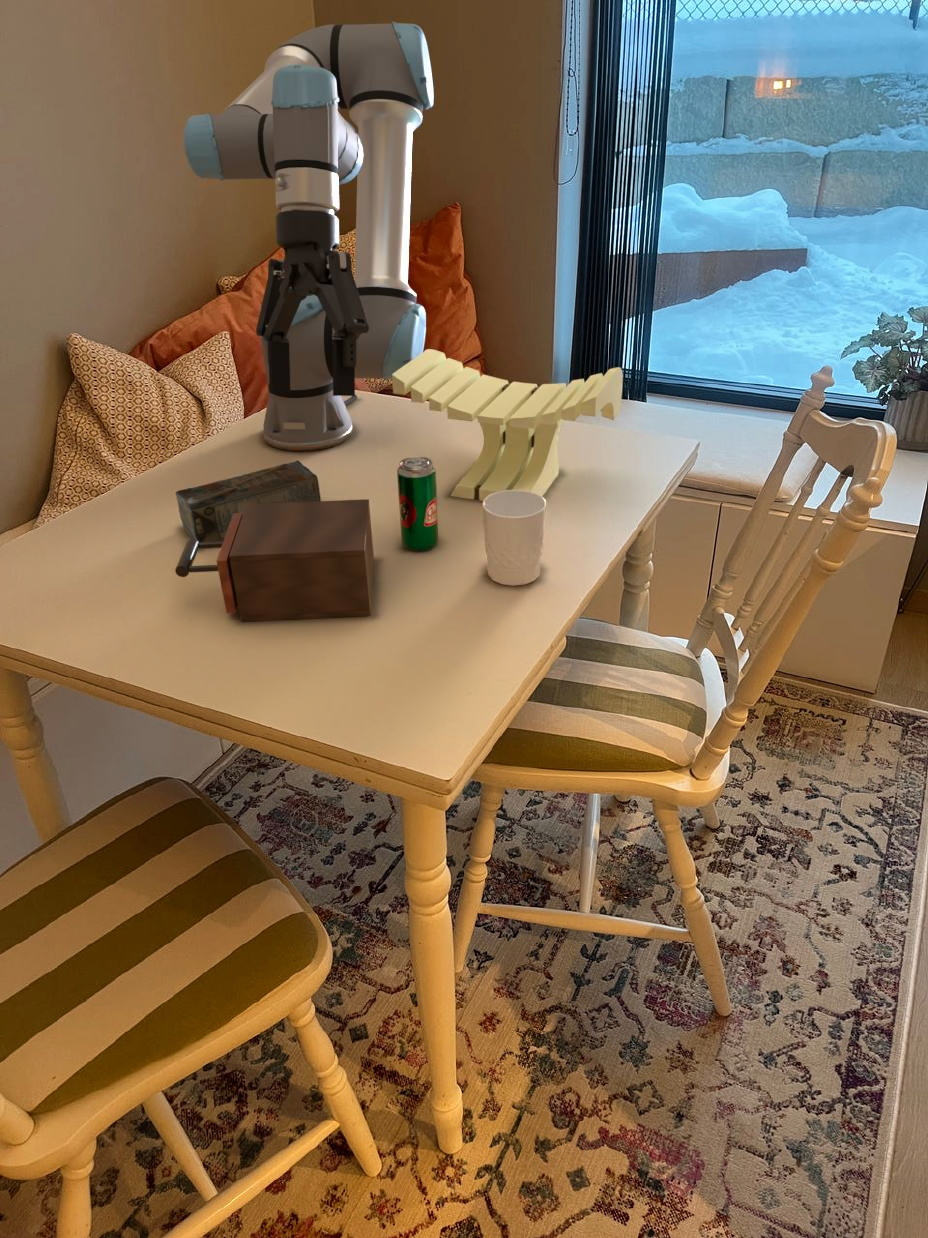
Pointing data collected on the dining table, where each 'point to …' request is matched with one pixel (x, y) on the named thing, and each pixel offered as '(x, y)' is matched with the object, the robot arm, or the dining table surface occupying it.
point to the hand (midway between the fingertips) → (310, 394)
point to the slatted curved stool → (507, 418)
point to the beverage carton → (242, 498)
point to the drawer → (222, 562)
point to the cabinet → (303, 560)
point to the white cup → (514, 535)
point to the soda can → (418, 503)
